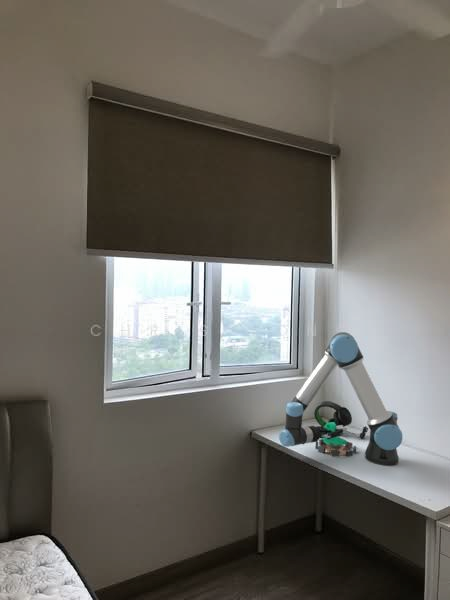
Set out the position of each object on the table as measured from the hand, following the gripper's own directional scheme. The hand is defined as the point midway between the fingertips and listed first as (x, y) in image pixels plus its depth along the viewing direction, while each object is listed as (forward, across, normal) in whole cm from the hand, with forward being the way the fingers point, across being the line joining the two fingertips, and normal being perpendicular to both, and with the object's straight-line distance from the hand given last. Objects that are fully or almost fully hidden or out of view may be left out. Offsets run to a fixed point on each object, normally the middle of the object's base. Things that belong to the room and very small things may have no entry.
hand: (344, 428), depth 239 cm
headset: (+15, -17, -10) cm, 24 cm away
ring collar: (-5, 0, -10) cm, 11 cm away
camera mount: (-7, 0, -6) cm, 10 cm away
